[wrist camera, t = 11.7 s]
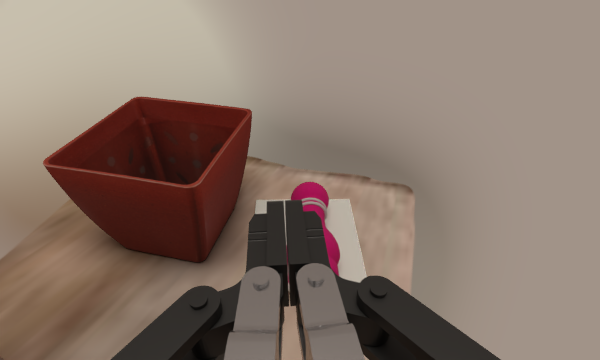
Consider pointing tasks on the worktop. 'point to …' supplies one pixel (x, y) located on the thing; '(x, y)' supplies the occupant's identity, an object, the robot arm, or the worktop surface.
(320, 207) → the pepper mill
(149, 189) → the plant pot
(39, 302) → the worktop surface
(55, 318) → the worktop surface
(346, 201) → the mat
